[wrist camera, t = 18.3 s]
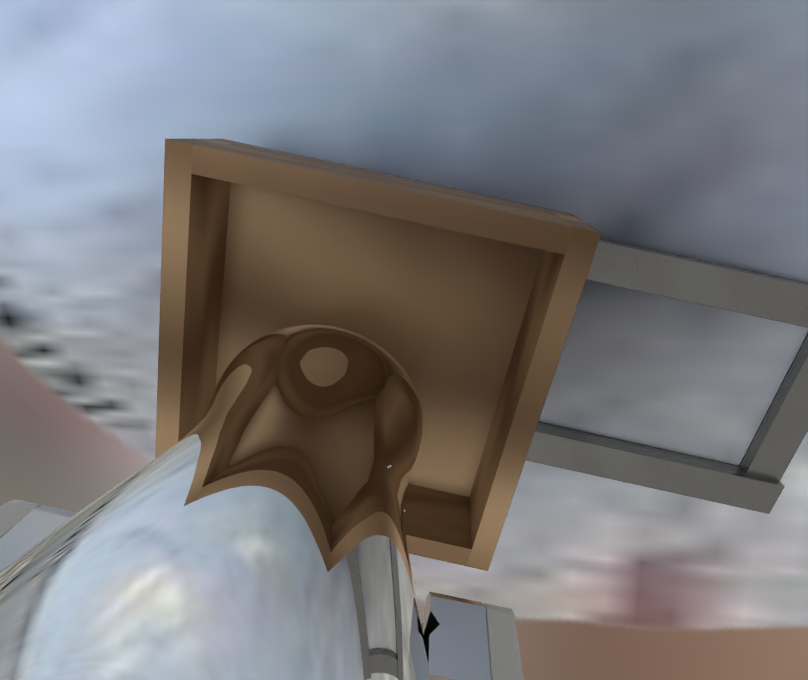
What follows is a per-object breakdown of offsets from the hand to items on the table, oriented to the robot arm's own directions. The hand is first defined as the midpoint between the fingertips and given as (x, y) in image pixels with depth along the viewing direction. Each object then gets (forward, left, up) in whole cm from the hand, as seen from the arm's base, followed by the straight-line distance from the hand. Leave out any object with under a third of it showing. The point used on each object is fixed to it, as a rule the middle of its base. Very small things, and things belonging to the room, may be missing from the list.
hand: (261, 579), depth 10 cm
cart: (0, 0, -14) cm, 14 cm away
